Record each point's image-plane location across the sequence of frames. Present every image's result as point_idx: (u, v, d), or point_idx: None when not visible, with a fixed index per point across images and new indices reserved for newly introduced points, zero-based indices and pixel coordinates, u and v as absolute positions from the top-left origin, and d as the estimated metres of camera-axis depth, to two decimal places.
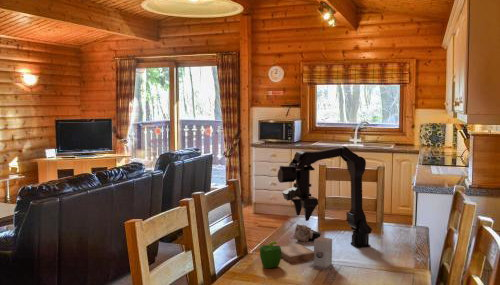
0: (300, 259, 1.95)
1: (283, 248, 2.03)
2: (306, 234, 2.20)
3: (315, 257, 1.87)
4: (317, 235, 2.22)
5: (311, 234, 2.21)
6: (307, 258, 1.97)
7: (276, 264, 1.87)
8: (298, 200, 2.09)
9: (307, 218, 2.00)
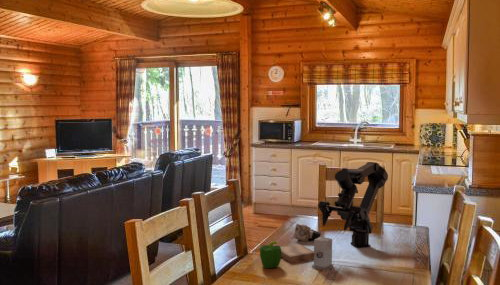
0: (300, 259, 1.95)
1: (283, 248, 2.03)
2: (306, 234, 2.21)
3: (315, 257, 1.87)
4: (317, 235, 2.22)
5: (311, 234, 2.21)
6: (307, 258, 1.97)
7: (276, 264, 1.87)
8: None
9: None
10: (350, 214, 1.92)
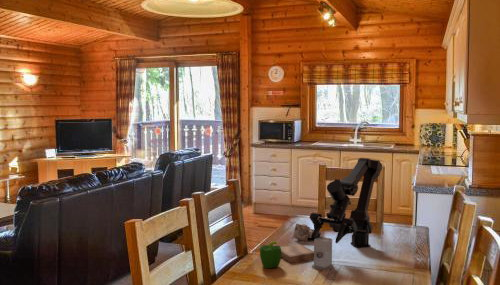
0: (300, 259, 1.95)
1: (283, 248, 2.03)
2: (305, 233, 2.21)
3: (315, 257, 1.87)
4: None
5: (310, 233, 2.21)
6: (307, 258, 1.97)
7: (276, 264, 1.87)
8: None
9: None
10: (342, 226, 1.87)
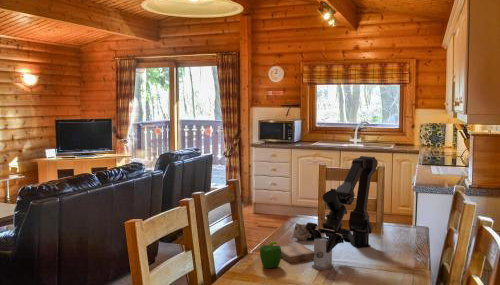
0: (300, 259, 1.95)
1: (283, 248, 2.03)
2: (305, 233, 2.22)
3: (315, 257, 1.87)
4: None
5: None
6: (307, 258, 1.97)
7: (276, 264, 1.87)
8: None
9: None
10: (333, 236, 1.86)
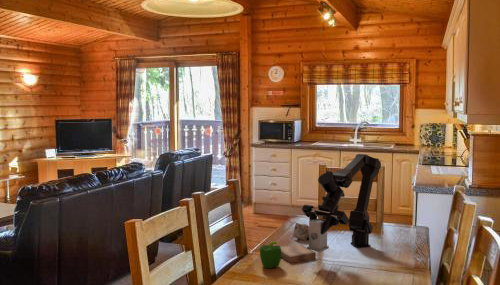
0: (300, 259, 1.95)
1: (283, 248, 2.03)
2: (305, 233, 2.22)
3: (310, 238, 1.89)
4: None
5: None
6: (307, 258, 1.97)
7: (276, 264, 1.87)
8: None
9: None
10: (328, 218, 1.86)
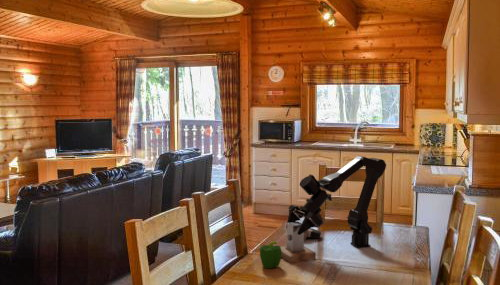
0: (300, 259, 1.95)
1: (283, 248, 2.03)
2: (304, 232, 2.23)
3: (287, 239, 2.01)
4: (316, 234, 2.23)
5: (309, 233, 2.23)
6: (307, 258, 1.97)
7: (276, 264, 1.87)
8: None
9: None
10: (304, 219, 1.95)
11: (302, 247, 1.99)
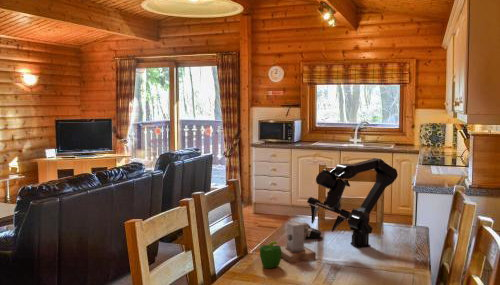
0: (300, 259, 1.95)
1: (283, 248, 2.03)
2: (304, 232, 2.24)
3: (287, 239, 2.01)
4: (315, 234, 2.24)
5: (309, 232, 2.24)
6: (307, 258, 1.97)
7: (276, 264, 1.87)
8: None
9: None
10: (338, 218, 2.00)
11: (302, 247, 1.99)
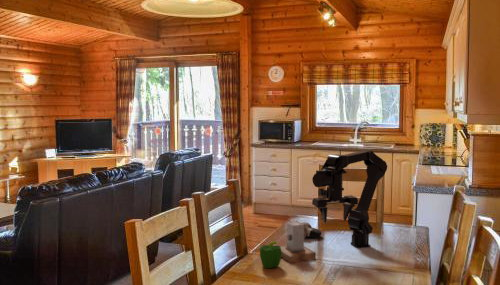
0: (300, 259, 1.95)
1: (283, 248, 2.03)
2: None
3: (287, 239, 2.01)
4: (315, 233, 2.24)
5: (308, 232, 2.24)
6: (307, 258, 1.97)
7: (276, 264, 1.87)
8: (346, 205, 2.06)
9: (323, 219, 2.04)
10: (350, 208, 2.04)
11: (302, 247, 1.99)
